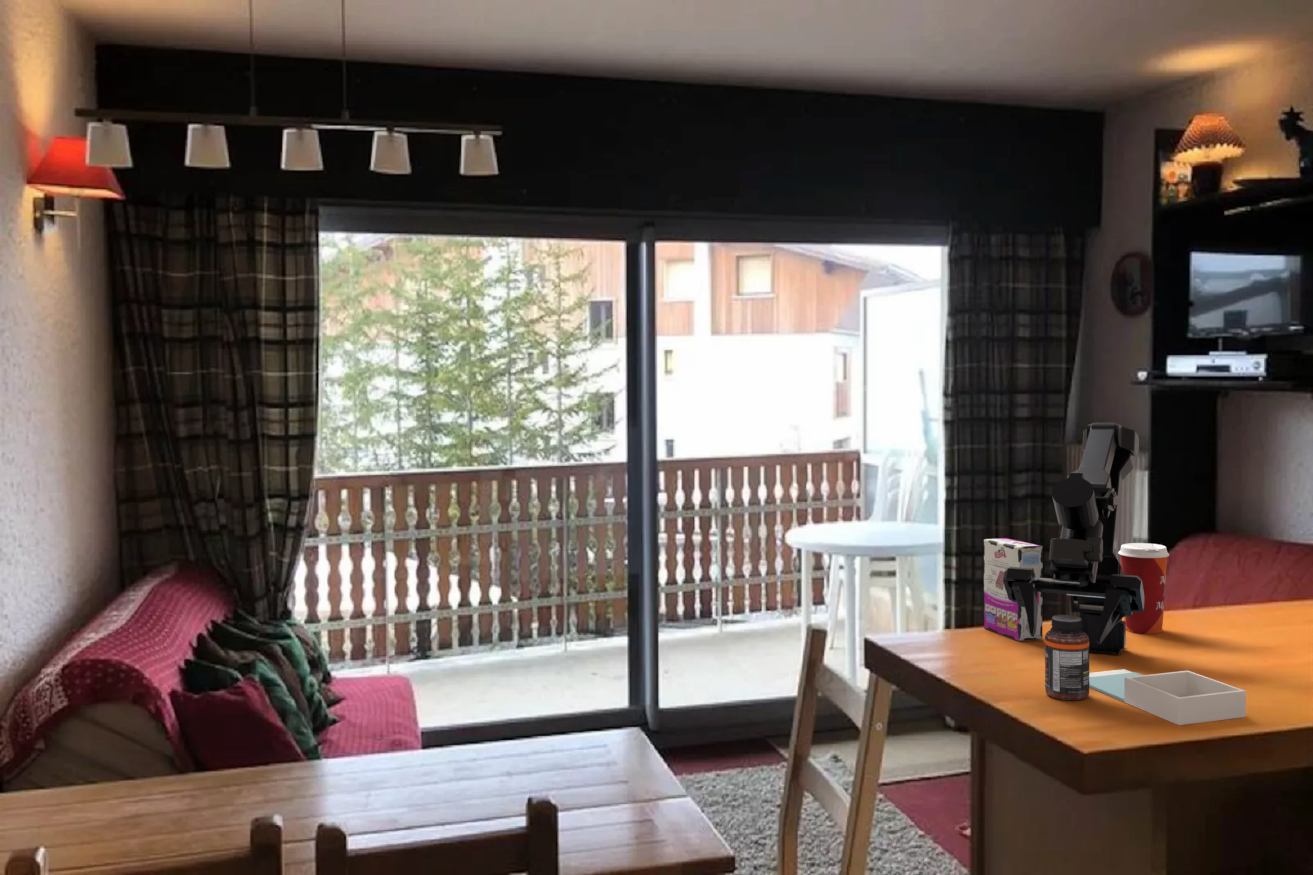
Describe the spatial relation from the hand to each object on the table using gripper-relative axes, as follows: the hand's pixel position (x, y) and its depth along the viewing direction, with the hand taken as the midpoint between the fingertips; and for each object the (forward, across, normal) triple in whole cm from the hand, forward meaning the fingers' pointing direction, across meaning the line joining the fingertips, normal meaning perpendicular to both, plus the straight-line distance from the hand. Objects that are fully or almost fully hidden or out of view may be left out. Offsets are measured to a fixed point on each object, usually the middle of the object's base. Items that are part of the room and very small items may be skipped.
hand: (1064, 638), depth 152 cm
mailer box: (+2, +10, +11) cm, 15 cm away
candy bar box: (-18, -15, +31) cm, 39 cm away
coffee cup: (-27, +4, +40) cm, 49 cm away
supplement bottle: (+5, 0, +7) cm, 9 cm away
